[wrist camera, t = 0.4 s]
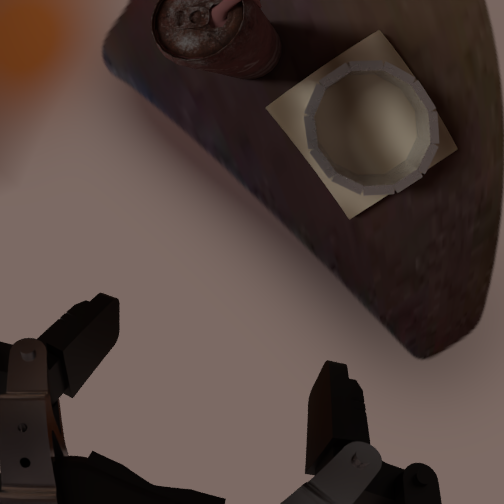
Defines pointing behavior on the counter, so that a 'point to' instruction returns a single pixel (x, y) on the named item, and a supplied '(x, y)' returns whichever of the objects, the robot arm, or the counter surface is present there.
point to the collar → (419, 152)
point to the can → (217, 36)
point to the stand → (357, 121)
